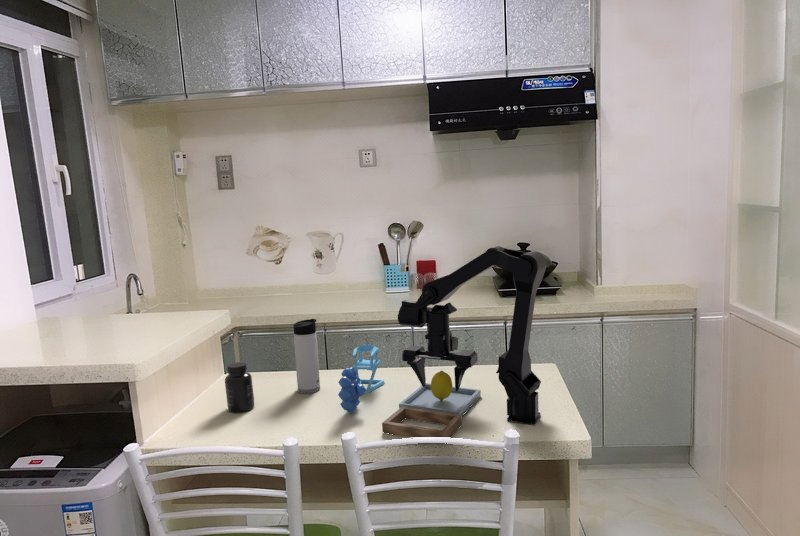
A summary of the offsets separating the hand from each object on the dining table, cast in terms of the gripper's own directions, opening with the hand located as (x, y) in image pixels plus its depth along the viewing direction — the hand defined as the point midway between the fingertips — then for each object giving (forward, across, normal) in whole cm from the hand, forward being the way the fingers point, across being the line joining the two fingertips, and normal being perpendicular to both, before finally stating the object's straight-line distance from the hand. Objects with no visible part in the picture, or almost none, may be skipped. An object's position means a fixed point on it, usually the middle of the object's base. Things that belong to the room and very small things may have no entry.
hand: (440, 388), depth 144 cm
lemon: (+4, 0, 0) cm, 4 cm away
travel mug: (+4, +39, +3) cm, 39 cm away
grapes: (+4, +18, +13) cm, 23 cm away
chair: (+4, +24, -4) cm, 25 cm away
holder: (+4, -2, +16) cm, 17 cm away
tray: (+4, 0, 0) cm, 4 cm away
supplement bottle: (+4, +48, +21) cm, 53 cm away
